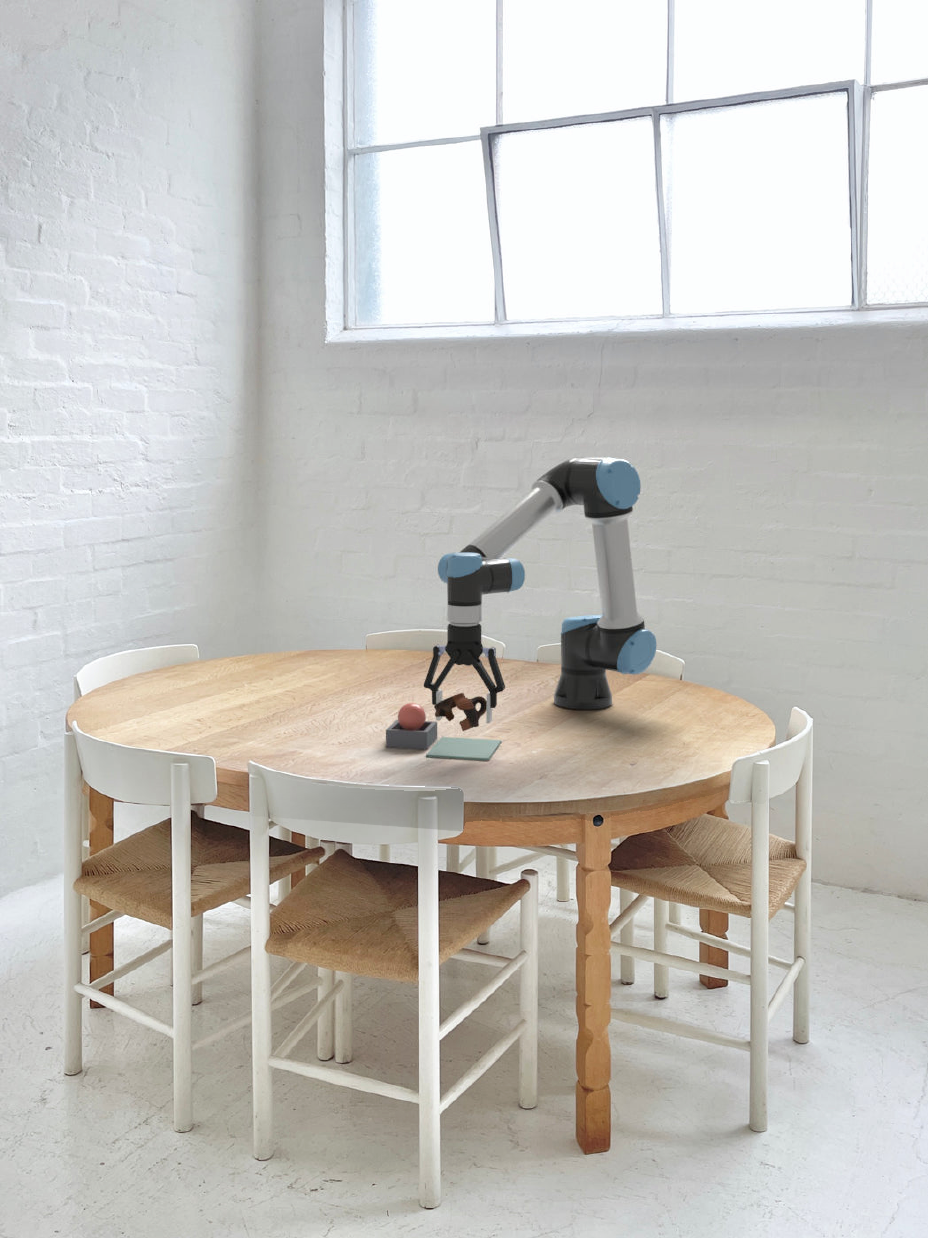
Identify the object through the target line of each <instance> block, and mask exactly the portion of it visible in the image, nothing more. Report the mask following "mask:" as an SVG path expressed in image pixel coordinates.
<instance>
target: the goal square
mask: <svg viewBox="0 0 928 1238" xmlns="http://www.w3.org/2000/svg"><path fill="white" fill-rule="evenodd" d="M501 744H502V739H487V738H486V739H485V738H468V737H451V736H448V737H447V736H441V738H439V739H438V741H436V743H435V744H434V745H433V747H431V748H430V750H429V751H428V752H427V753H426V754H425V757H426V758H437V759H438V758H439V759H457V760H468V761H469V760H472V761H473V760H474V761H485V760H488V761H491V758H492V757H493V755H494V754H495V753H496V751H497V750H498V748H499V747H500V745H501Z"/></svg>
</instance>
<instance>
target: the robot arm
mask: <svg viewBox="0 0 928 1238" xmlns="http://www.w3.org/2000/svg"><path fill="white" fill-rule="evenodd" d="M640 494H641V478H640V475H639V473H638V471H637V469H636V468H635V466H634V465H633V464H631V463H630V462H629V461H627V460H626V459H621V458H615V457H585V456H584V457H583V456H582V457H581V456H578V457H577V456H576V457H574V458H573V457H572V458H569V459H567V460H564V461H562V462H561V463H559V464H557V465H555V466H554V467H552V468H551V469H550V470H548V471H547V472H545V473H544V474H543V475H542V476H540V477H539V478H538V479H537V480H536V481H534V482H533V483H532V485H531V490H530V491H529V492H528V493H527V494H526V495H524V496H523V497H522V498H521V499H520V500H518V501H517V502H516V503H515V504H514V505H513V506H512V507H511V508H509V509H508V510H507V511H506V512H505V513H504V514H502V515H501V516H500V517H498V518H497V520H495V521H494V522H493V523H492V524H490V526H489V527H487V528H486V529H485V530H484V531H482V532H481V533H480V534H479V535H478V536H476V537H475V539H473V540H472V541H471V542H470V543H469V544H468V545H466V546H465V547H464V548H463V549H461V550H460V551H459V552H449V553H446V554H444V555H443V556H442V557H441V558H440V559H439V560H438V564H437V574H438V577H439V579H440V580H441V581H442V583H445V584H446V585H447V586H446V587H447V619H446V621H447V622H448V625H447V626H446V627H447V628H446V629H447V630H446V631H447V643H446V645H441V644H436V645H435V646H433V648H432V659H431V663H430V665H429V669H427V670H428V671H427V675H426V677H425V679H424V682H423V687H424V688H425V689H428V690H430V691H431V704H432V705H433V706H435V705H436V704H437V703H439V702H441V701H443V689H440V687H441V685H442V684H443V682H444V681H445V679H446V677H447V676H448V675H449V673H450V672H451V670H452V668H453V667H454V666H455V665H456V666H462V665H463V666H467V667H469V666H470V667H471V666H472V667H473V668H474V670H475V671H476V672H477V674H478V676H479V677H480V680H482V682H483V684H484V685H485V687H486V689H487V690H488V692H487V694H486V701H487V710H486V712H485V715H486V717H485V719H486V724H491V722H492V721H493V709H495V708H496V707H497V704H498V701H497V700H498V695H497V694H498V693H502V692H504V690H505V689H506V685H505V681H504V679H503V676H502V672H501V670H500V666H499V663H498V660H497V658H496V656H497V655H496V653H497V651H496V650H497V648H496V647H495V646H491V647H484V645H483V644H482V624H481V622H482V617H483V616H482V614H483V613H482V604H483V603H482V601H483V599H482V597H483V595H489V594H500V593H510V592H513V591H517V590H520V589H521V588H522V587H523V585H524V582H525V579H526V571H525V567H524V566H523V563H522V562H521V561H520V560H519V559H517V558H513V557H510V558H508V557H504V556H505V555H506V554H507V553H509V552H510V551H511V550H512V549H513V548H515V546H516V545H518V544H519V543H520V542H521V541H522V540H523V539H525V538H526V537H528V535H530V533H531V532H533V531H534V530H535V529H536V528H537V527H538V526H540V525H541V524H542V523H543V522H544V521H546V520H547V519H548V517H550V516H551V515H557V514H559V513H560V512H562V511H563V510H564V509H566V508H568V507H571V506H578V505H579V506H583V510H584V511H583V512H584V518H586V519H587V520H588V521H589V522H591V526H592V535H593V544H594V552H595V560H596V561H595V563H596V571H597V580H598V587H599V588H598V589H599V597H600V605H601V606H600V607H601V614H593V615H591V614H589V615H579V616H570V617H567V618H565V619H563V621H562V623H561V632H560V667H561V668H560V675H559V679H558V682H557V685H556V687H555V690H554V694H553V704H555V705H556V706H557V707H561V708H566V709H572V710H589V711H590V710H599V709H600V710H601V709H605V708H609V707H610V706H612V704H613V694H612V691H611V688H610V685H609V684H610V683H609V681H608V677H607V671H612V672H617V673H620V674H623V675H639V674H642V673H643V672H645V671H646V670H647V669H648V668H649V667H650V666H651V664H652V662H653V661H654V658H655V656H656V653H657V639H656V636H655V634H654V633H653V632H652V631H651V630H649V629H647V628H645V626H646V625H645V617H644V616H643V615H642V614H641V613H639V612H638V610H637V600H636V589H635V580H634V579H635V578H634V571H633V561H632V551H631V542H630V533H629V523H628V518H629V517H630V515H631V514H632V513H633V511H634V508H633V506H634V505H635V504H636V503H637V502H638V500H639V495H640ZM503 557H504V558H503ZM445 652H446V654H447V655H448V657H449V660H448V661H447V663H446V665H445V666H444V667H443V669H442V670H441V672H440V674H439V676H438V677H437V678H436V680H435V681H434V682H433V680H434V677H435V674H436V672H437V669H438V665H439V664H440V663H439V662H440V659H441V657H442V655H444V653H445ZM482 654H484V656H485V657H486V658H487V659H488V665H489V666H490V670H491V673H492V675H493V679H494V681H493V680H492V678H491V676H490V674H489V673H488V671H487V669H486V668H485V667H484V664H483V662H482V660H481V658H480V657H481V656H482ZM435 718H436V721H439V722H440V721H441V720H442V718H443V717H441V716H439V717H436V716H435Z"/></svg>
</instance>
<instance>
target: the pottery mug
mask: <svg viewBox="0 0 928 1238" xmlns="http://www.w3.org/2000/svg"><path fill="white" fill-rule="evenodd" d="M477 704H480V708H479V709H478V710H477V707H476V706H477ZM433 707H434V709H435V713H434V716H435V718H436V717H439V716H441V717H442V718H443V717H445V719H446V720H447V721H449V722H451V721H452V720H454V719H455V715H454V713H453V709H454V708H457V709H458V710H459V711H462V712H463V713H464V715H465V717H466V718H464V719H462V720H460V721H459V722H458V724H459V726H460V727H461V731H462V732H464V731H468V730H470V729H472V728H478V727H479V726H480V725H479V723H480V721H479V720H480V718H481V717H482V716H483V715H485V714H486V711H487V698H485V697H483V696H479V695H478V696H475V697H472V698H469V697H466V695H465V693H464V692H460V693H456V694H454V695H452V696H450V697H447V698H445V699H442V701H441V702H439V703H437V704H436V705H433Z"/></svg>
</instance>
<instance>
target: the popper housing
mask: <svg viewBox="0 0 928 1238" xmlns="http://www.w3.org/2000/svg"><path fill="white" fill-rule="evenodd" d="M437 740H438V721H432V720H425V723H424V725H423V726H422V727H421V728H420V729H418V730H406V729H404V728H403V727H402V726H401V725H400V724H399V721H398V718H397V719H396V720H395V721H394V722H393V723H392V724H390V725H389V726H388V728H386V729H385V747H386V748H398V749H413V750H429V749H430V747H432V745H433V744H434V743H435V742H436V741H437Z"/></svg>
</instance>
